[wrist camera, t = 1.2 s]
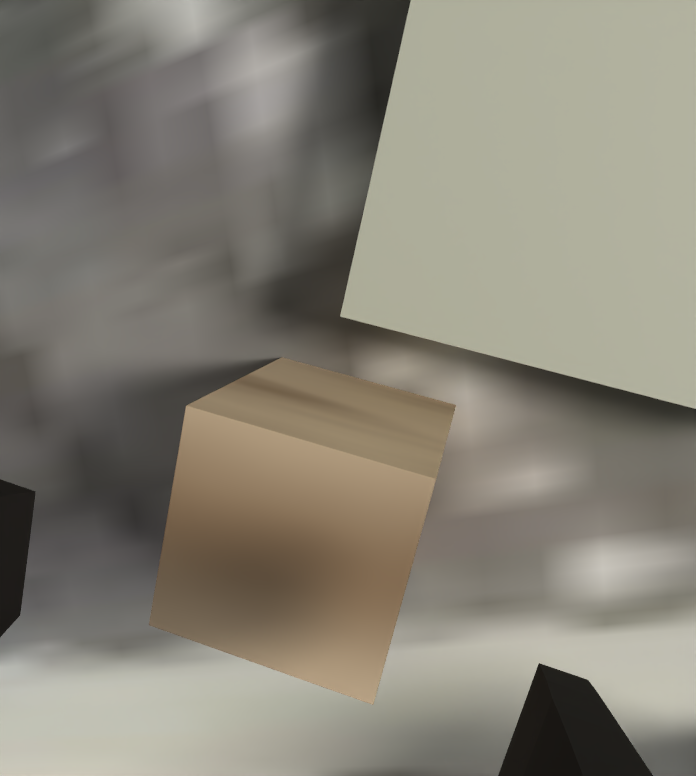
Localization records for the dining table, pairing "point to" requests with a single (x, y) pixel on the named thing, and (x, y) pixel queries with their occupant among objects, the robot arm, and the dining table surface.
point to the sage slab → (540, 189)
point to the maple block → (299, 521)
